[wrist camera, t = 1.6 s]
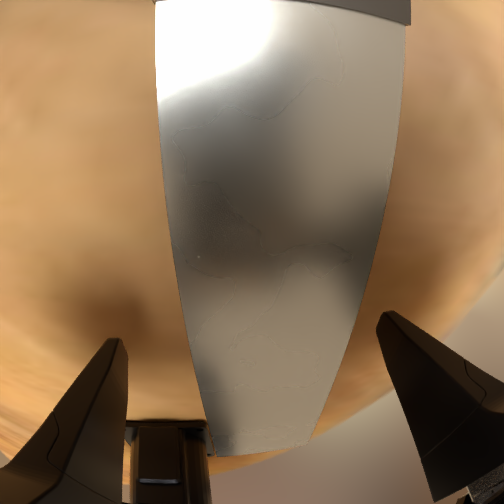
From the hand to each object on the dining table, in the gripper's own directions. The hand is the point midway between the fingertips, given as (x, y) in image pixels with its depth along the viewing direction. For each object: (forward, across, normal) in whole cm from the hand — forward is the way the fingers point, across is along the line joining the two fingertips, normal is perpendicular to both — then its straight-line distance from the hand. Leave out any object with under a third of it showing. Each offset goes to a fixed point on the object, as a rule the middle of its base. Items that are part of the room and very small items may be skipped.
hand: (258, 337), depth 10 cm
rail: (+3, 0, -2) cm, 4 cm away
